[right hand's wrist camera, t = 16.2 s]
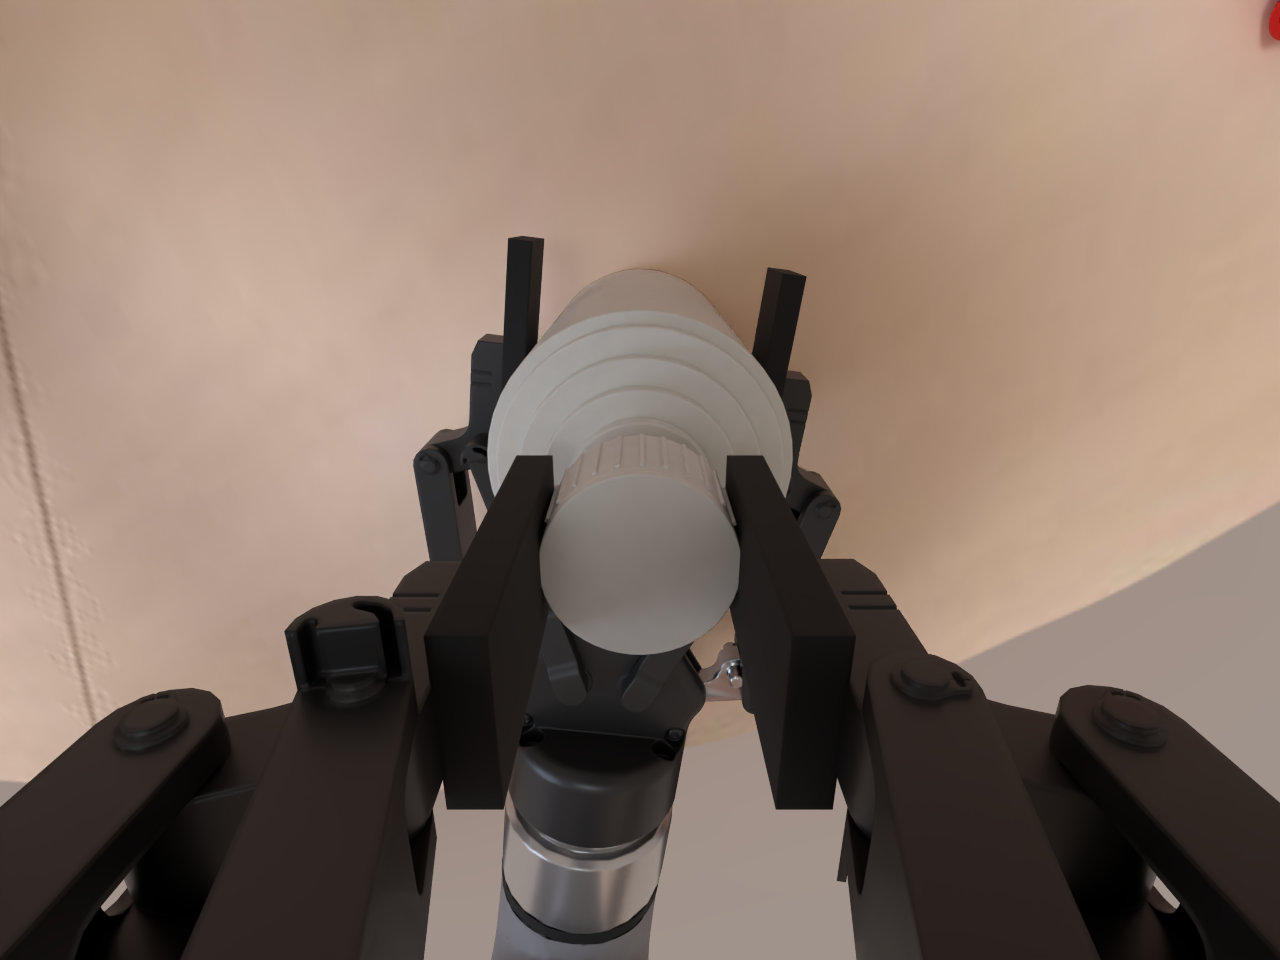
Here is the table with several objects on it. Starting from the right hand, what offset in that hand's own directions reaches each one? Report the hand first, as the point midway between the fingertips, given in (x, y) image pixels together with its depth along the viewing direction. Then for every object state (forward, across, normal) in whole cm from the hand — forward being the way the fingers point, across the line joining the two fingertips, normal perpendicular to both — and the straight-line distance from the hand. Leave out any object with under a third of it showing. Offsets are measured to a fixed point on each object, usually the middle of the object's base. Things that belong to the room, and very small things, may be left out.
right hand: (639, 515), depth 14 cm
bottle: (+17, 0, 0) cm, 17 cm away
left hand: (+10, -1, -5) cm, 11 cm away
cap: (-2, 0, 0) cm, 2 cm away
